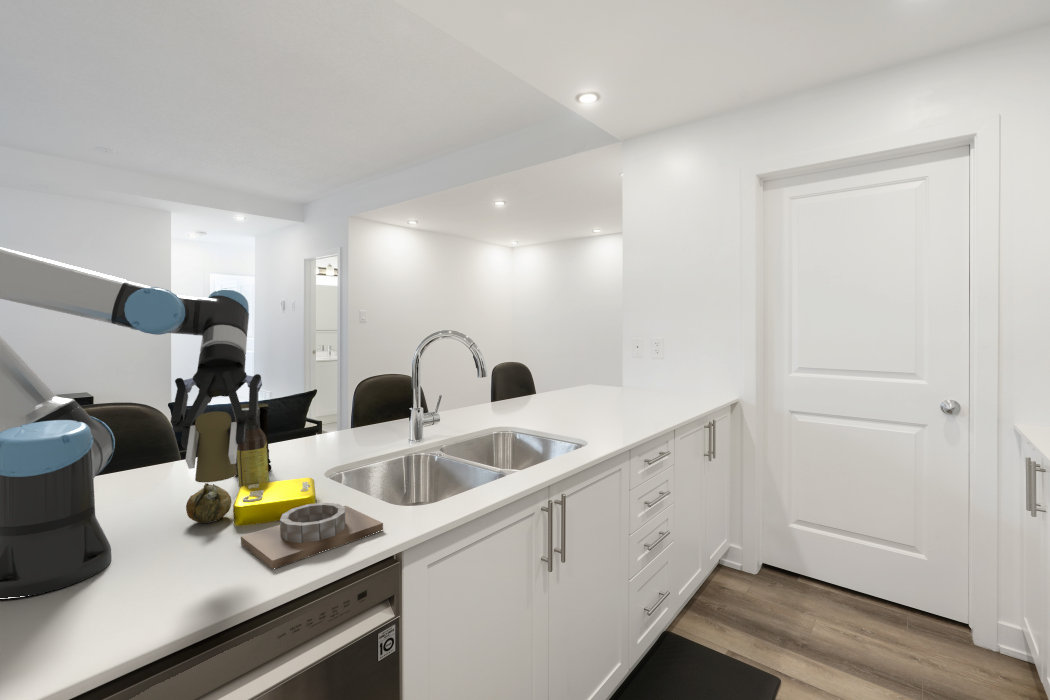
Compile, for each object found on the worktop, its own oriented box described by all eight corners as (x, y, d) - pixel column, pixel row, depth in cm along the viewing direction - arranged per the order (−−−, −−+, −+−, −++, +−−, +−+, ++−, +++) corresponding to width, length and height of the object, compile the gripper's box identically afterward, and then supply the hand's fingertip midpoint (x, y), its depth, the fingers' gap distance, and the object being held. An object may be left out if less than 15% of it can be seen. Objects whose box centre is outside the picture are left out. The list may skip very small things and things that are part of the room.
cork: (245, 471, 86) (241, 409, 86) (220, 482, 80) (217, 415, 80) (212, 471, 87) (209, 409, 86) (186, 482, 81) (182, 415, 80)
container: (238, 469, 135) (235, 403, 135) (274, 466, 138) (272, 402, 137) (229, 478, 127) (226, 409, 126) (268, 475, 130) (265, 407, 129)
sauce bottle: (275, 490, 118) (272, 407, 117) (251, 498, 112) (248, 411, 111) (256, 487, 120) (253, 405, 119) (232, 495, 114) (229, 409, 113)
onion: (242, 514, 103) (240, 476, 102) (208, 530, 95) (206, 489, 95) (213, 511, 105) (211, 473, 104) (177, 526, 97) (175, 485, 97)
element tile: (316, 516, 102) (315, 494, 102) (232, 529, 96) (231, 505, 96) (314, 494, 116) (313, 474, 116) (240, 504, 110) (240, 483, 109)
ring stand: (272, 569, 79) (271, 542, 79) (241, 544, 88) (240, 519, 88) (383, 530, 94) (382, 507, 94) (346, 512, 103) (345, 491, 103)
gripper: (278, 365, 100) (276, 466, 86) (170, 370, 93) (149, 481, 79) (274, 339, 95) (272, 443, 81) (160, 343, 88) (136, 456, 74)
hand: (211, 461), depth 80 cm, fingers closed on cork, 5 cm apart
